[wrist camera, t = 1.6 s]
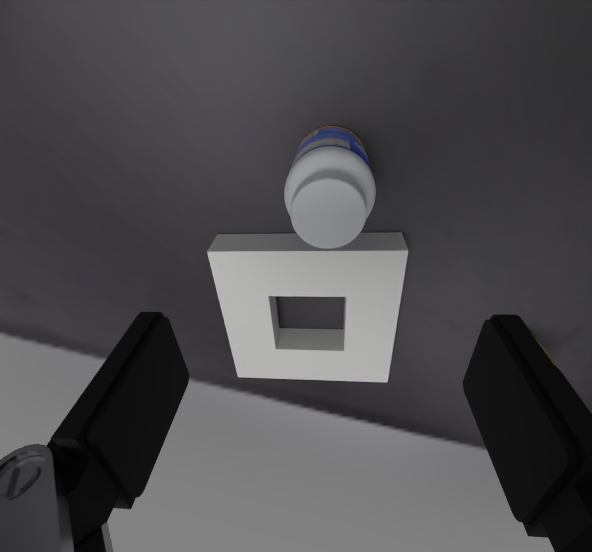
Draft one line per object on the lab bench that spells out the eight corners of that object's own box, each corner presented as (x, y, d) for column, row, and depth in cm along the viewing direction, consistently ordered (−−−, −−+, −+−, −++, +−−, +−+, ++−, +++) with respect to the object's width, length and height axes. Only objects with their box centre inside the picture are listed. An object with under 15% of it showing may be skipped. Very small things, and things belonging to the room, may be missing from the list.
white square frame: (401, 232, 28) (408, 250, 25) (383, 359, 37) (387, 382, 35) (217, 234, 29) (207, 251, 27) (243, 355, 39) (238, 377, 36)
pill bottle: (368, 191, 26) (383, 256, 18) (300, 200, 27) (288, 265, 19) (364, 117, 23) (382, 156, 15) (288, 129, 24) (267, 173, 16)
